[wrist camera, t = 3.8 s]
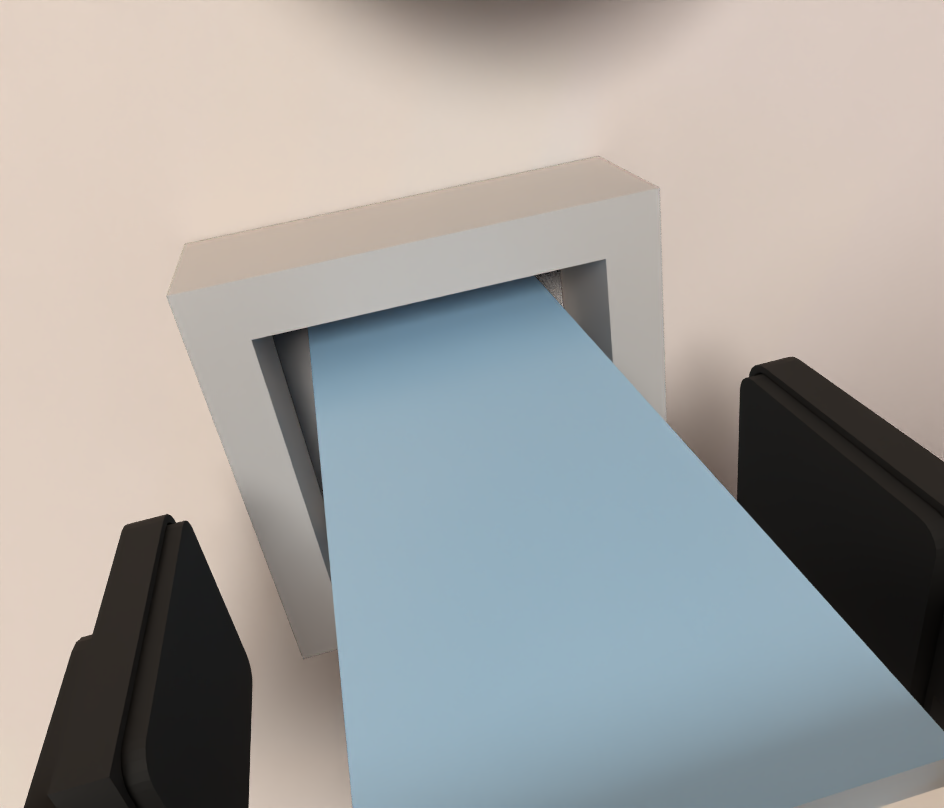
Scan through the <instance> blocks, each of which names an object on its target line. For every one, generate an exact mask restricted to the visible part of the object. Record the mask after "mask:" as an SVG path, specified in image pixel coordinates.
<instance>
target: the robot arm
mask: <svg viewBox="0 0 944 808" xmlns="http://www.w3.org/2000/svg"><path fill="white" fill-rule="evenodd" d="M737 502H738V503H739V504H740V505H741V506H742V507H743V508H744V509H745V511H746V512H747V513H748V514H749V515H750V516H751V517H752V518H753V519H754V521H755V522H756V523H757V524H758V525H759V526H760V527H761V528H762V530H763V531H764V532H765V533H766V534H767V535H768V536H769V537H770V538H771V540H772V541H773V542H774V543H775V544H776V545H777V546H778V547H779V548H780V550H781V551H782V552H783V553H784V554H785V555H786V556H787V557H788V558H789V560H790V561H791V562H792V563H793V564H794V565H795V566H796V567H797V568H798V570H799V571H800V572H801V573H802V574H803V575H804V576H805V577H806V578H807V580H808V581H809V582H810V583H811V584H812V585H813V586H814V587H815V588H816V590H817V591H818V592H819V593H820V594H821V595H822V596H823V597H824V599H825V600H826V601H827V602H828V603H829V604H830V605H831V606H832V607H833V609H834V610H835V611H836V612H837V613H838V614H839V615H840V616H841V617H842V619H843V620H844V621H845V622H846V623H847V624H848V625H849V626H850V627H851V629H852V630H853V631H854V632H855V633H856V634H857V635H858V636H859V637H860V639H861V640H862V641H863V642H864V643H865V644H866V645H867V646H868V647H869V649H870V650H871V651H872V652H873V653H874V654H875V655H876V656H877V657H878V659H879V660H880V661H881V662H882V663H883V664H884V665H885V666H886V668H887V669H888V670H889V671H890V672H891V673H892V674H893V675H894V676H895V678H896V679H897V680H898V681H899V682H900V683H901V684H902V685H903V686H904V688H905V689H906V690H907V691H908V692H909V693H910V694H911V695H912V696H913V698H914V699H915V700H916V701H917V702H918V703H919V704H920V705H921V706H922V708H923V709H924V710H925V711H926V712H927V713H928V714H929V715H930V716H931V718H932V719H933V720H934V721H935V722H936V723H937V724H938V725H939V726H940V728H941V729H942V730H943V731H944V462H943V461H942V460H940V459H939V458H938V457H936V456H935V455H933V454H932V453H931V452H929V451H928V450H926V449H925V448H923V447H922V446H921V445H919V444H918V443H916V442H915V441H914V440H912V439H911V438H909V437H908V436H907V435H905V434H904V433H902V432H901V431H899V430H898V429H897V428H895V427H894V426H892V425H891V424H890V423H888V422H887V421H885V420H884V419H882V418H881V417H880V416H878V415H877V414H875V413H874V412H873V411H871V410H870V409H868V408H867V407H865V406H864V405H863V404H861V403H860V402H858V401H857V400H856V399H854V398H853V397H851V396H850V395H849V394H847V393H846V392H844V391H843V390H841V389H840V388H839V387H837V386H836V385H834V384H833V383H832V382H830V381H829V380H827V379H826V378H824V377H823V376H822V375H820V374H819V373H817V372H816V371H815V370H813V369H812V368H810V367H809V366H807V365H806V364H805V363H803V362H802V361H800V360H799V359H797V358H795V357H787V358H783V359H779V360H775V361H771V362H767V363H763V364H759V365H755V366H754V367H753V368H752V369H751V371H750V374H749V377H748V378H745V379H743V380H742V382H741V386H740V411H739V450H738V489H737ZM251 712H252V673H251V668H250V664H249V660H248V657H247V655H246V652H245V650H244V648H243V645H242V643H241V641H240V638H239V636H238V634H237V631H236V629H235V626H234V624H233V622H232V619H231V617H230V615H229V612H228V610H227V608H226V605H225V603H224V601H223V598H222V596H221V594H220V591H219V589H218V587H217V584H216V582H215V580H214V577H213V575H212V573H211V570H210V568H209V566H208V563H207V561H206V559H205V556H204V554H203V552H202V549H201V547H200V545H199V542H198V540H197V538H196V535H195V533H194V531H193V529H192V527H191V525H190V523H189V522H188V521H182V522H178V523H176V522H175V520H174V519H173V517H172V516H171V515H168V514H166V515H162V516H158V517H154V518H150V519H146V520H143V521H139V522H135V523H131V524H127V525H125V526H124V528H123V530H122V532H121V536H120V539H119V543H118V546H117V550H116V554H115V557H114V561H113V564H112V568H111V571H110V575H109V578H108V582H107V585H106V589H105V592H104V596H103V599H102V603H101V607H100V610H99V614H98V617H97V621H96V624H95V628H94V631H93V635H89V636H85V637H82V638H81V639H80V640H78V641H77V642H76V644H75V646H74V648H73V650H72V652H71V656H70V659H69V662H68V665H67V669H66V672H65V675H64V678H63V682H62V685H61V688H60V691H59V695H58V698H57V701H56V705H55V708H54V711H53V714H52V718H51V721H50V724H49V727H48V731H47V734H46V737H45V740H44V744H43V747H42V750H41V753H40V757H39V760H38V763H37V766H36V770H35V773H34V776H33V779H32V783H31V786H30V789H29V792H28V796H27V799H26V802H25V805H24V808H248V804H249V774H250V743H251ZM794 808H944V759H942V760H939V761H936V762H933V763H930V764H927V765H924V766H921V767H917V768H914V769H911V770H908V771H905V772H902V773H899V774H896V775H893V776H889V777H886V778H883V779H880V780H877V781H874V782H871V783H868V784H865V785H861V786H858V787H855V788H852V789H849V790H846V791H843V792H840V793H837V794H834V795H830V796H827V797H824V798H821V799H818V800H815V801H812V802H809V803H806V804H803V805H800V806H797V807H794Z"/></svg>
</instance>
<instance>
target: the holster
mask: <svg viewBox="0 0 944 808" xmlns="http://www.w3.org/2000/svg"><path fill="white" fill-rule="evenodd" d="M559 269H560V273H561V283H562V293H563V303H564V309H565V310H566V311H567V312H568V314H569V315H570V316H571V317H572V318H573V319H574V320H575V321H576V322H577V324H578V325H579V326H580V327H581V328H582V329H583V330H584V331H585V333H586V334H587V335H588V336H589V337H590V338H591V339H592V340H593V341H594V343H595V344H596V345H597V346H598V347H599V348H600V349H601V350H602V351H603V353H604V354H605V355H606V356H607V357H608V358H609V359H610V360H611V361H612V363H613V364H614V365H615V366H616V367H617V368H618V369H619V370H620V371H621V373H622V374H623V375H624V376H625V377H626V378H627V379H628V380H629V381H630V383H631V384H632V385H633V386H634V387H635V388H636V389H637V390H638V391H639V393H640V394H641V395H642V396H643V397H644V398H645V399H646V400H647V402H648V403H649V404H650V405H651V406H652V407H653V408H654V409H655V410H656V412H657V413H658V414H659V415H660V416H661V417H662V418H663V419H664V420H665V422H666V423H667V419H666V385H665V351H664V317H663V283H662V249H661V215H660V188H659V187H657V186H655V185H653V184H652V183H650V182H648V181H646V180H644V179H642V178H640V177H638V176H636V175H634V174H632V173H630V172H628V171H627V170H625V169H623V168H621V167H619V166H617V165H615V164H613V163H611V162H609V161H607V160H605V159H604V158H602V157H600V156H596V157H592V158H587V159H582V160H578V161H573V162H568V163H563V164H559V165H554V166H549V167H545V168H540V169H535V170H531V171H526V172H521V173H516V174H512V175H507V176H502V177H498V178H493V179H488V180H483V181H479V182H474V183H469V184H465V185H460V186H455V187H450V188H446V189H441V190H436V191H432V192H427V193H422V194H417V195H413V196H408V197H403V198H399V199H394V200H389V201H385V202H380V203H375V204H370V205H366V206H361V207H356V208H352V209H347V210H342V211H337V212H333V213H328V214H323V215H319V216H314V217H309V218H304V219H300V220H295V221H290V222H286V223H281V224H276V225H271V226H267V227H262V228H257V229H253V230H248V231H243V232H238V233H234V234H229V235H224V236H220V237H215V238H210V239H206V240H201V241H196V242H191V243H187V244H185V245H184V248H183V251H182V253H181V256H180V259H179V262H178V265H177V267H176V270H175V273H174V276H173V279H172V281H171V284H170V287H169V290H168V293H167V295H166V297H167V299H168V302H169V305H170V307H171V310H172V313H173V315H174V318H175V321H176V323H177V326H178V328H179V331H180V334H181V336H182V339H183V342H184V344H185V347H186V350H187V352H188V355H189V358H190V360H191V363H192V366H193V368H194V371H195V374H196V376H197V379H198V382H199V384H200V387H201V389H202V392H203V395H204V397H205V400H206V403H207V405H208V408H209V411H210V413H211V416H212V419H213V421H214V424H215V427H216V429H217V432H218V435H219V437H220V440H221V443H222V445H223V448H224V450H225V453H226V456H227V458H228V461H229V464H230V466H231V469H232V472H233V474H234V477H235V480H236V482H237V485H238V488H239V490H240V493H241V496H242V498H243V501H244V504H245V506H246V509H247V511H248V514H249V517H250V519H251V522H252V525H253V527H254V530H255V533H256V535H257V538H258V541H259V543H260V546H261V549H262V551H263V554H264V557H265V559H266V562H267V565H268V567H269V570H270V572H271V575H272V578H273V580H274V583H275V586H276V588H277V591H278V594H279V596H280V599H281V602H282V604H283V607H284V610H285V612H286V615H287V618H288V620H289V623H290V626H291V628H292V631H293V633H294V636H295V639H296V641H297V644H298V647H299V649H300V652H301V655H302V657H303V659H305V658H309V657H313V656H316V655H320V654H323V653H327V652H330V651H334V650H338V646H337V635H336V624H335V614H334V603H333V592H332V581H331V571H330V560H329V549H328V539H327V528H326V517H325V507H324V501H323V498H322V495H321V492H320V489H319V485H318V482H317V479H316V476H315V473H314V469H313V466H312V463H311V460H310V457H309V453H308V450H307V447H306V444H305V440H304V437H303V434H302V431H301V428H300V424H299V421H298V418H297V415H296V412H295V408H294V405H293V402H292V399H291V396H290V392H289V389H288V386H287V383H286V380H285V376H284V373H283V370H282V367H281V364H280V360H279V357H278V354H277V351H276V347H275V344H274V341H273V338H272V335H275V334H280V333H284V332H289V331H293V330H297V329H302V328H306V327H310V326H315V325H319V324H323V323H328V322H332V321H337V320H341V319H345V318H350V317H354V316H358V315H363V314H367V313H372V312H376V311H380V310H385V309H389V308H393V307H398V306H402V305H406V304H411V303H415V302H420V301H424V300H428V299H433V298H437V297H441V296H446V295H450V294H454V293H459V292H463V291H468V290H472V289H476V288H481V287H485V286H489V285H494V284H498V283H503V282H507V281H511V280H516V279H520V278H524V277H529V276H533V275H537V274H542V273H546V272H551V271H555V270H559Z"/></svg>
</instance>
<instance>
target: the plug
mask: <svg viewBox="0 0 944 808" xmlns="http://www.w3.org/2000/svg"><path fill="white" fill-rule="evenodd" d="M308 335H309V346H310V357H311V367H312V378H313V389H314V400H315V410H316V421H317V432H318V442H319V453H320V464H321V474H322V485H323V496H324V507H325V517H326V528H327V539H328V549H329V560H330V571H331V581H332V592H333V603H334V614H335V624H336V635H337V646H338V656H339V667H340V678H341V688H342V699H343V710H344V721H345V731H346V742H347V753H348V763H349V774H350V785H351V795H352V806H353V808H794V807H797V806H800V805H803V804H806V803H809V802H812V801H815V800H818V799H821V798H824V797H827V796H830V795H834V794H837V793H840V792H843V791H846V790H849V789H852V788H855V787H858V786H861V785H865V784H868V783H871V782H874V781H877V780H880V779H883V778H886V777H889V776H893V775H896V774H899V773H902V772H905V771H908V770H911V769H914V768H917V767H921V766H924V765H927V764H930V763H933V762H936V761H939V760H942V759H944V731H943V730H942V729H941V728H940V726H939V725H938V724H937V723H936V722H935V721H934V720H933V719H932V718H931V716H930V715H929V714H928V713H927V712H926V711H925V710H924V709H923V708H922V706H921V705H920V704H919V703H918V702H917V701H916V700H915V699H914V698H913V696H912V695H911V694H910V693H909V692H908V691H907V690H906V689H905V688H904V686H903V685H902V684H901V683H900V682H899V681H898V680H897V679H896V678H895V676H894V675H893V674H892V673H891V672H890V671H889V670H888V669H887V668H886V666H885V665H884V664H883V663H882V662H881V661H880V660H879V659H878V657H877V656H876V655H875V654H874V653H873V652H872V651H871V650H870V649H869V647H868V646H867V645H866V644H865V643H864V642H863V641H862V640H861V639H860V637H859V636H858V635H857V634H856V633H855V632H854V631H853V630H852V629H851V627H850V626H849V625H848V624H847V623H846V622H845V621H844V620H843V619H842V617H841V616H840V615H839V614H838V613H837V612H836V611H835V610H834V609H833V607H832V606H831V605H830V604H829V603H828V602H827V601H826V600H825V599H824V597H823V596H822V595H821V594H820V593H819V592H818V591H817V590H816V588H815V587H814V586H813V585H812V584H811V583H810V582H809V581H808V580H807V578H806V577H805V576H804V575H803V574H802V573H801V572H800V571H799V570H798V568H797V567H796V566H795V565H794V564H793V563H792V562H791V561H790V560H789V558H788V557H787V556H786V555H785V554H784V553H783V552H782V551H781V550H780V548H779V547H778V546H777V545H776V544H775V543H774V542H773V541H772V540H771V538H770V537H769V536H768V535H767V534H766V533H765V532H764V531H763V530H762V528H761V527H760V526H759V525H758V524H757V523H756V522H755V521H754V519H753V518H752V517H751V516H750V515H749V514H748V513H747V512H746V511H745V509H744V508H743V507H742V506H741V505H740V504H739V503H738V502H737V501H736V499H735V498H734V497H733V496H732V495H731V494H730V493H729V492H728V491H727V489H726V488H725V487H724V486H723V485H722V484H721V483H720V482H719V481H718V479H717V478H716V477H715V476H714V475H713V474H712V473H711V472H710V471H709V469H708V468H707V467H706V466H705V465H704V464H703V463H702V462H701V461H700V459H699V458H698V457H697V456H696V455H695V454H694V453H693V452H692V450H691V449H690V448H689V447H688V446H687V445H686V444H685V443H684V442H683V440H682V439H681V438H680V437H679V436H678V435H677V434H676V433H675V432H674V430H673V429H672V428H671V427H670V426H669V425H668V424H667V423H666V422H665V420H664V419H663V418H662V417H661V416H660V415H659V414H658V413H657V412H656V410H655V409H654V408H653V407H652V406H651V405H650V404H649V403H648V402H647V400H646V399H645V398H644V397H643V396H642V395H641V394H640V393H639V391H638V390H637V389H636V388H635V387H634V386H633V385H632V384H631V383H630V381H629V380H628V379H627V378H626V377H625V376H624V375H623V374H622V373H621V371H620V370H619V369H618V368H617V367H616V366H615V365H614V364H613V363H612V361H611V360H610V359H609V358H608V357H607V356H606V355H605V354H604V353H603V351H602V350H601V349H600V348H599V347H598V346H597V345H596V344H595V343H594V341H593V340H592V339H591V338H590V337H589V336H588V335H587V334H586V333H585V331H584V330H583V329H582V328H581V327H580V326H579V325H578V324H577V322H576V321H575V320H574V319H573V318H572V317H571V316H570V315H569V314H568V312H567V311H566V310H565V309H564V308H563V307H562V306H561V305H560V304H559V302H558V301H557V300H556V299H555V298H554V297H553V296H552V295H551V294H550V292H549V291H548V290H547V289H546V288H545V287H544V286H543V285H542V284H541V282H540V281H539V280H538V279H537V278H536V277H535V276H534V275H533V276H529V277H524V278H520V279H516V280H511V281H507V282H503V283H498V284H494V285H489V286H485V287H481V288H476V289H472V290H468V291H463V292H459V293H454V294H450V295H446V296H441V297H437V298H433V299H428V300H424V301H420V302H415V303H411V304H406V305H402V306H398V307H393V308H389V309H385V310H380V311H376V312H372V313H367V314H363V315H358V316H354V317H350V318H345V319H341V320H337V321H332V322H328V323H323V324H319V325H315V326H310V327H308Z"/></svg>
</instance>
